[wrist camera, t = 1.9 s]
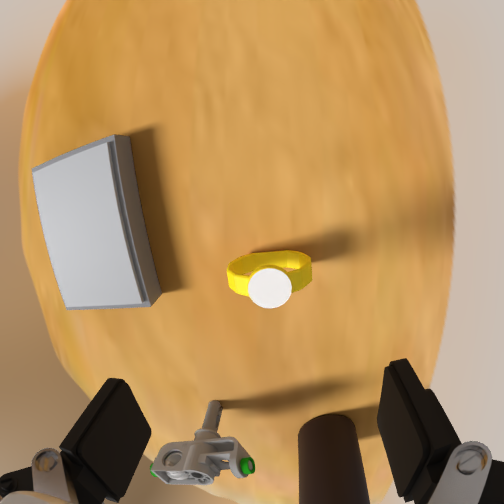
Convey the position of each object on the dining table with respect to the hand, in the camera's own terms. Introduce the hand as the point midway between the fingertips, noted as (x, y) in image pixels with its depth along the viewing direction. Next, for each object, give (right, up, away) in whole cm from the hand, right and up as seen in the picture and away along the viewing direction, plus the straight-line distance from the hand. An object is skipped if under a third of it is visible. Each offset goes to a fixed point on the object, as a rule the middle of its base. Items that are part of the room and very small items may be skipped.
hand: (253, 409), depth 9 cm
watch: (+1, +5, +15) cm, 16 cm away
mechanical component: (-4, -11, +20) cm, 23 cm away
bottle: (+9, -16, +20) cm, 27 cm away
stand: (-14, +8, +15) cm, 22 cm away
